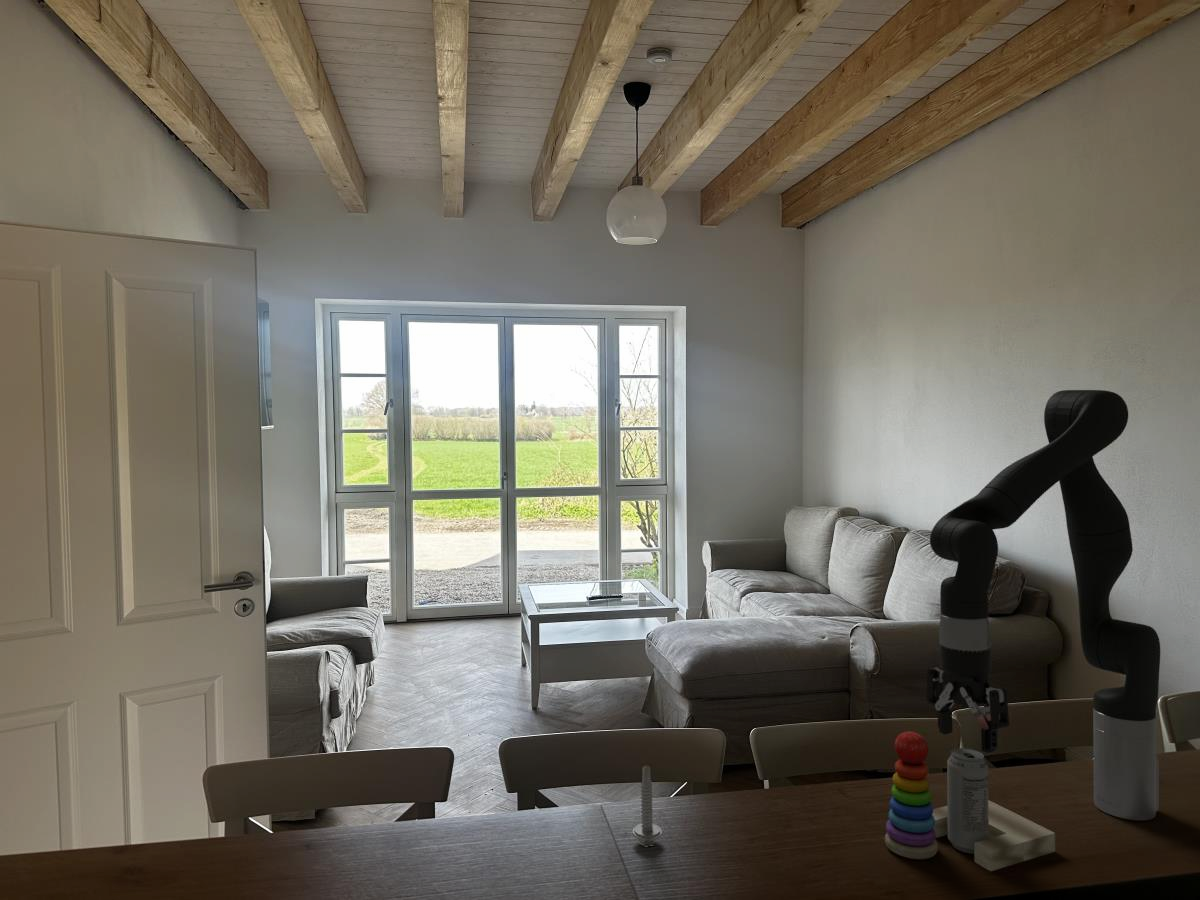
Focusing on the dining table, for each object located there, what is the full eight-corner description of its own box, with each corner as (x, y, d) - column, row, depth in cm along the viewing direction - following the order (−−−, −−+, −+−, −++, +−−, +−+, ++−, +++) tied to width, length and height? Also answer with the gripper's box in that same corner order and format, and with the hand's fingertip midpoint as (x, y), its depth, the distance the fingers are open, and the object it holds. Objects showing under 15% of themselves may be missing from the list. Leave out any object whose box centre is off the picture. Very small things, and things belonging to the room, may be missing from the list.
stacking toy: (943, 864, 123) (942, 744, 123) (889, 859, 125) (887, 741, 125) (932, 838, 131) (931, 725, 131) (881, 834, 133) (880, 723, 132)
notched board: (982, 813, 139) (981, 796, 139) (1055, 851, 126) (1054, 833, 126) (920, 830, 134) (920, 812, 134) (990, 871, 121) (990, 851, 121)
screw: (665, 838, 132) (657, 853, 128) (637, 834, 134) (629, 848, 129) (664, 761, 132) (656, 773, 127) (636, 757, 134) (627, 769, 129)
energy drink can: (974, 835, 132) (973, 745, 132) (996, 853, 126) (996, 760, 126) (940, 838, 131) (939, 747, 131) (961, 857, 125) (961, 762, 125)
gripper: (1019, 650, 123) (1021, 753, 123) (947, 629, 136) (949, 723, 136) (984, 656, 120) (985, 762, 120) (913, 635, 133) (915, 731, 134)
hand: (966, 741), depth 128 cm, fingers open, 8 cm apart
